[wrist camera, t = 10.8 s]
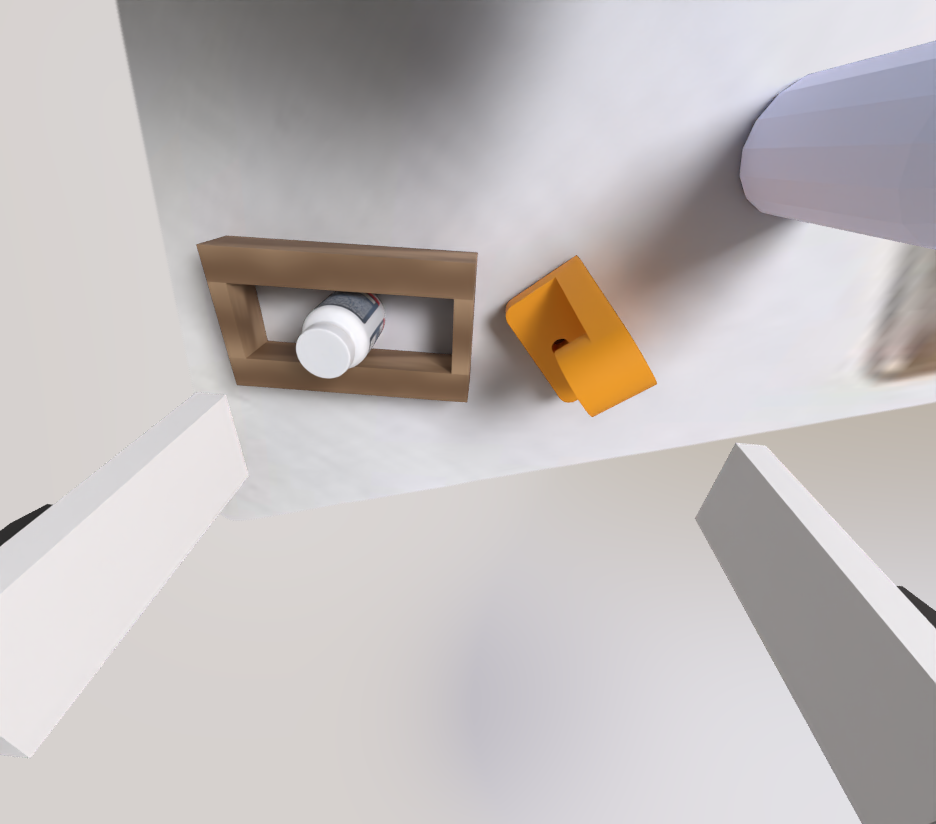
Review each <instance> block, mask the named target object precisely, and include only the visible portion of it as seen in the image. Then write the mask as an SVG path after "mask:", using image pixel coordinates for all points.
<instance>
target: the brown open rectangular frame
mask: <svg viewBox="0 0 936 824" xmlns="http://www.w3.org/2000/svg"><path fill="white" fill-rule="evenodd" d="M196 245H197V249H198V252H199V256H200V259H201V262H202V266H203V269H204V273H205V276H206V280H207V283H208V287H209V290H210V294H211V297H212V301H213V304H214V307H215V311H216V314H217V318H218V321H219V325H220V328H221V332H222V335H223V339H224V342H225V346H226V349H227V352H228V356H229V359H230V363H231V366H232V370H233V373H234V377H235V380H236V384H237V385H243V386H257V387H270V388H283V389H296V390H309V391H323V392H336V393H349V394H362V395H376V396H389V397H402V398H415V399H428V400H442V401H455V402H467V400H468V391H469V383H470V368H471V352H472V336H473V319H474V303H475V287H476V271H477V255H478V253H476V252H461V251H446V250H431V249H416V248H402V247H387V246H372V245H357V244H342V243H328V242H313V241H298V240H283V239H268V238H254V237H239V236H223V237H220V238H217V239H213V240H210V241H206V242H203V243H200V244H196ZM255 285H261V286H276V287H290V288H304V289H318V290H333V291H347V292H361V293H375V294H390V295H404V296H418V297H432V298H447V299H454V315H453V344H452V354H440V353H426V352H412V351H399V350H385V349H371V350H370V351H369V353H368V355H367V356H366V357H365V358H364V360H363V361H362V362H361V363H359V364H358V365H357V366H355V367H352V368H349V369H347V371H346V372H345V373H344V374H342V375H341V376H339V377H336V378H321V377H318V376H316V375H314V374H312V373H310V372H309V371H308V370H306V369H305V368H304V367H303V365H302V364H301V363H300V361H299V359H298V357H297V353H296V343H289V342H276V341H268V340H267V336H266V331H265V327H264V322H263V318H262V314H261V309H260V305H259V300H258V296H257V292H256V287H255Z"/></svg>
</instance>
